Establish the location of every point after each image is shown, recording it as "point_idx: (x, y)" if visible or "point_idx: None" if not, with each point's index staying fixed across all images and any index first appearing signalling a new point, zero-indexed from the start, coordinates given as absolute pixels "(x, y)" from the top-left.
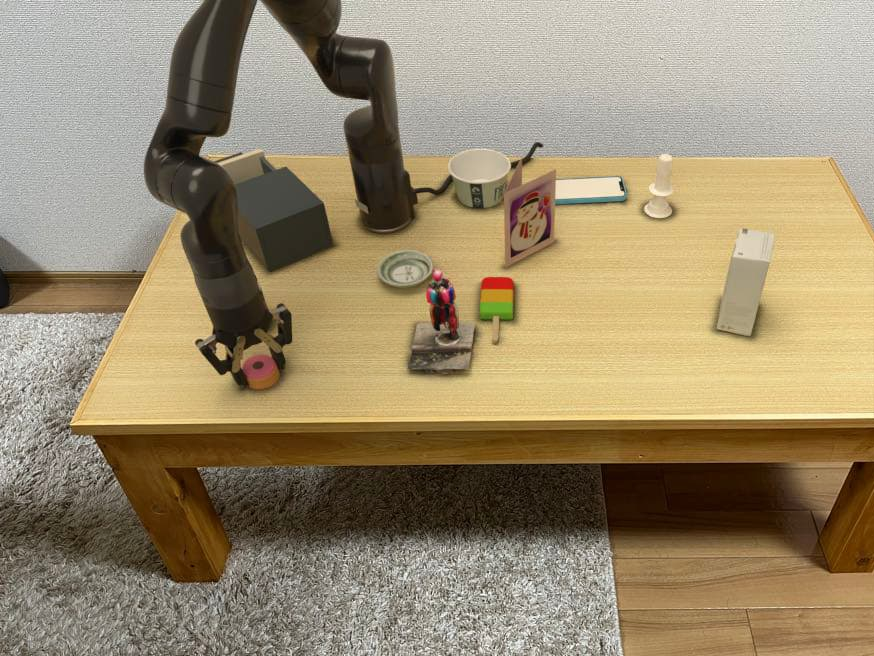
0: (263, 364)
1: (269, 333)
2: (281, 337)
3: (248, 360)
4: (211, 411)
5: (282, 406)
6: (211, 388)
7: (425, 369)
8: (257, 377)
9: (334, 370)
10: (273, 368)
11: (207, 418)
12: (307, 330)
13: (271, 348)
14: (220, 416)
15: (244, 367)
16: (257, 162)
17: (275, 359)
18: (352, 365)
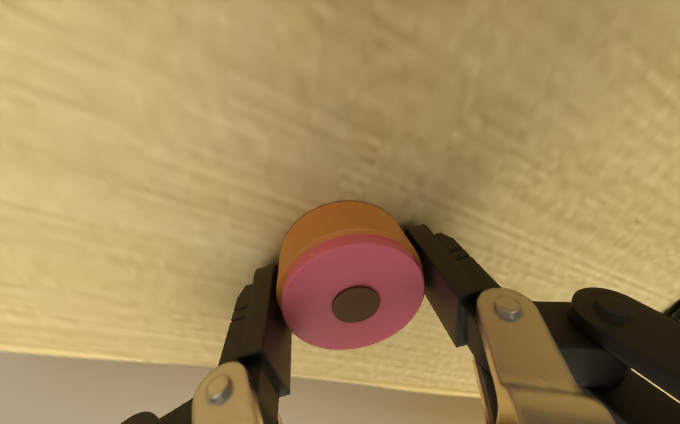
0: (378, 309)
1: (572, 381)
2: (586, 372)
3: (320, 266)
4: (160, 341)
5: (366, 357)
6: (140, 255)
7: None
8: (336, 348)
9: (534, 287)
10: (404, 323)
11: (150, 359)
12: (611, 49)
13: (483, 407)
14: (193, 359)
15: (294, 300)
16: None
17: (433, 300)
18: (579, 283)
